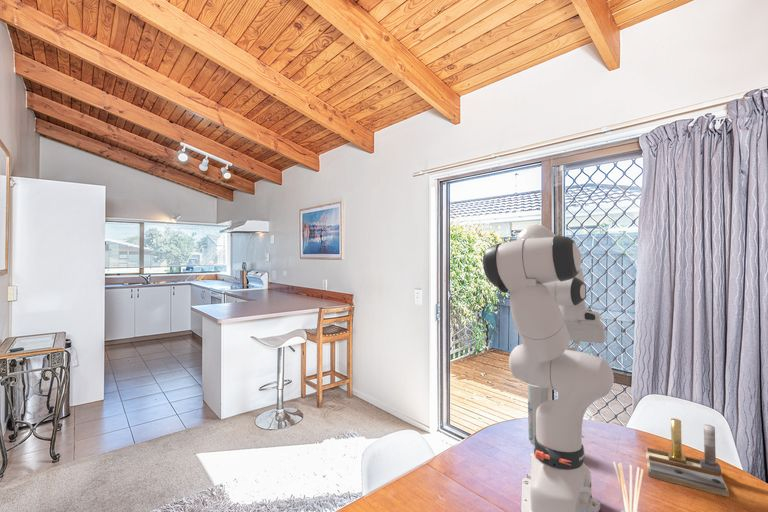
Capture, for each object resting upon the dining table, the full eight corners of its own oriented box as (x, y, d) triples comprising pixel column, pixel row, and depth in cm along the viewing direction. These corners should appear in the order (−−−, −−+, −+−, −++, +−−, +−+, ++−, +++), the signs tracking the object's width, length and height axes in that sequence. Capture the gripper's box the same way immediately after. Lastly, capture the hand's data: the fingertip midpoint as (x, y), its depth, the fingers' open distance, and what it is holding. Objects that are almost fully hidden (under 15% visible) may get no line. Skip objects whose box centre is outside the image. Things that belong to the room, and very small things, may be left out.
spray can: (530, 435, 128) (529, 379, 128) (549, 440, 125) (549, 382, 125) (526, 443, 123) (525, 385, 123) (547, 448, 119) (546, 388, 120)
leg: (686, 465, 105) (685, 424, 106) (669, 461, 108) (668, 421, 108) (684, 459, 109) (683, 419, 109) (667, 455, 111) (666, 416, 111)
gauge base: (728, 497, 94) (727, 443, 94) (648, 476, 104) (647, 427, 104) (716, 471, 106) (715, 423, 106) (645, 454, 115) (645, 410, 115)
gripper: (536, 311, 126) (537, 351, 126) (604, 316, 115) (605, 359, 115) (540, 309, 131) (540, 347, 131) (605, 313, 120) (606, 355, 120)
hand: (571, 353), depth 123 cm, fingers closed
